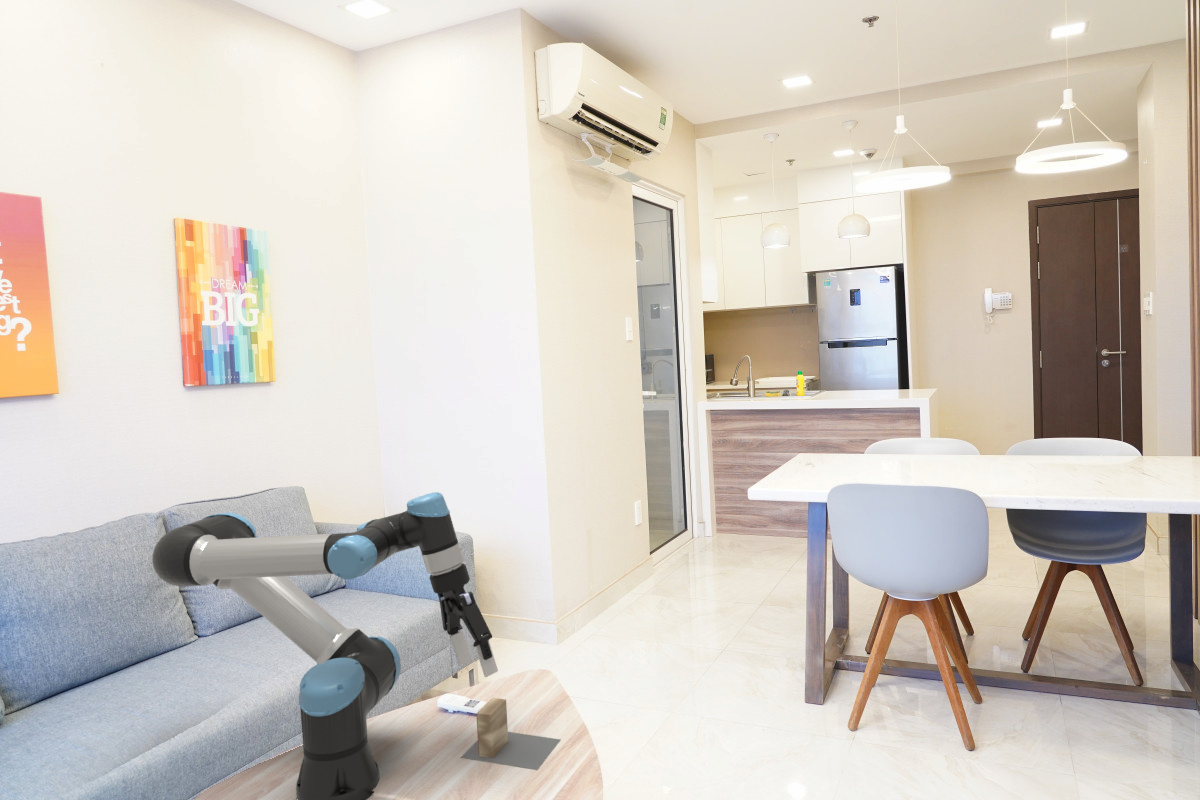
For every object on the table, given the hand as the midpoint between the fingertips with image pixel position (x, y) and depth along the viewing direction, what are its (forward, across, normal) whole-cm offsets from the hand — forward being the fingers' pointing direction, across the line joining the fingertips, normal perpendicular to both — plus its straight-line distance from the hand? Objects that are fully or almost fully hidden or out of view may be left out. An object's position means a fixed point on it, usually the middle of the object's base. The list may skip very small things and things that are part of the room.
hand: (477, 668), depth 157 cm
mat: (+19, +1, -2) cm, 19 cm away
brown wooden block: (+18, +3, +1) cm, 18 cm away
